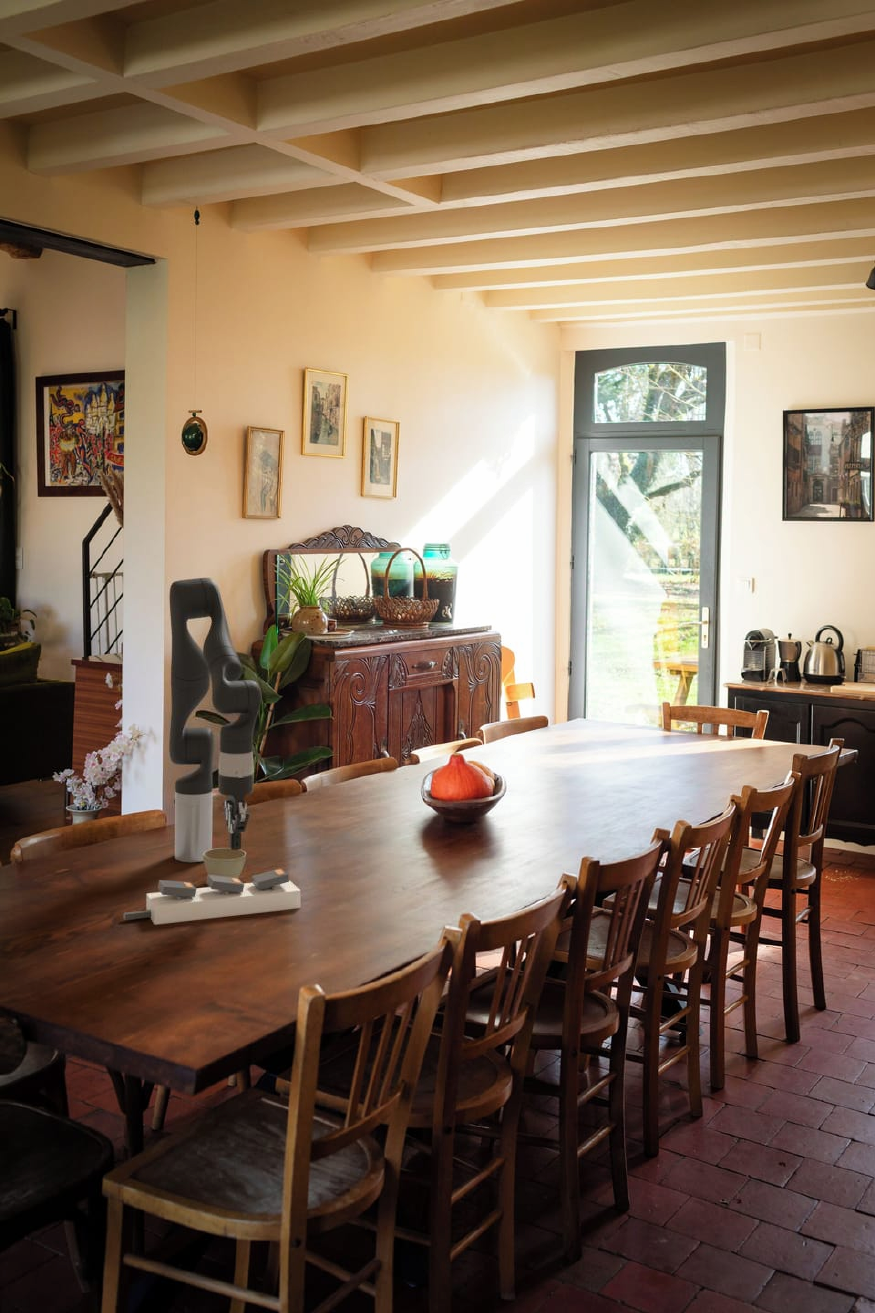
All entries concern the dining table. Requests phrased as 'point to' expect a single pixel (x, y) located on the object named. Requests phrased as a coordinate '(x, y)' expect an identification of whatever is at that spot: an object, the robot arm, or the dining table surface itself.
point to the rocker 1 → (176, 888)
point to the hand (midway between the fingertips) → (235, 848)
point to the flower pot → (224, 862)
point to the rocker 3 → (270, 879)
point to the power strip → (218, 903)
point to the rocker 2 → (225, 883)
